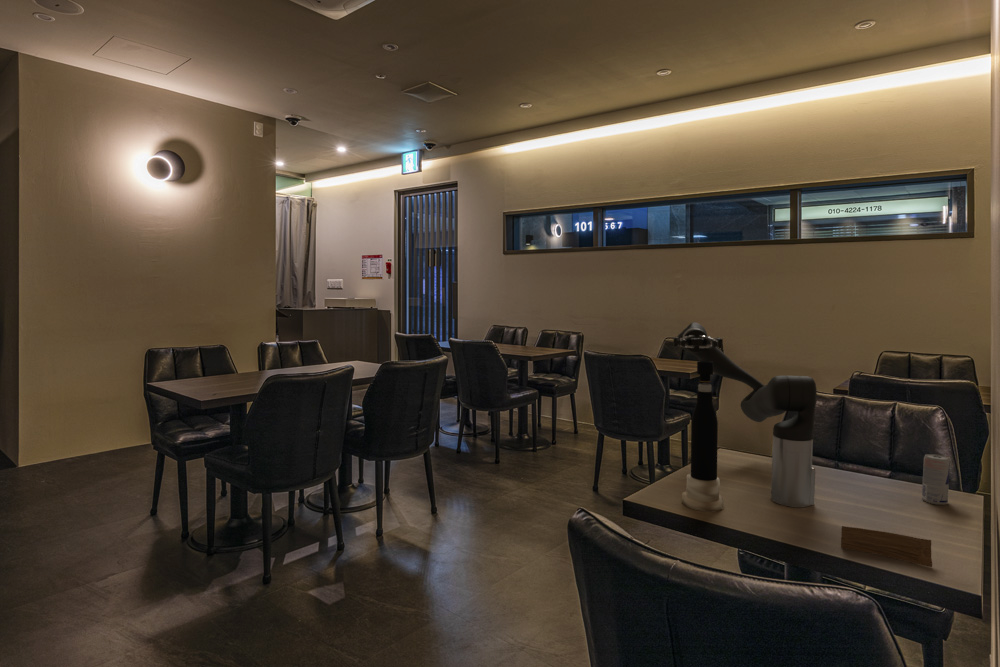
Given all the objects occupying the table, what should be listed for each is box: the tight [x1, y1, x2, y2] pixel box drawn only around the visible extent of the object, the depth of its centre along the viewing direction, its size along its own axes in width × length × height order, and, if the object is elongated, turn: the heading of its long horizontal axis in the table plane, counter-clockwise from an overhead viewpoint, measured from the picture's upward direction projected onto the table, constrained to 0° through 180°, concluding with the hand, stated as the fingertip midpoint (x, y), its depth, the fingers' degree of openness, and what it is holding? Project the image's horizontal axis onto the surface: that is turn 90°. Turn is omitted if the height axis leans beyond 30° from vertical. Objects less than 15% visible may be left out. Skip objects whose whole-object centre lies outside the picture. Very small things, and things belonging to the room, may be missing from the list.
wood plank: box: [840, 525, 933, 568], centre depth 114 cm, size 15×2×5 cm, turn 61°
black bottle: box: [690, 360, 719, 481], centre depth 142 cm, size 6×6×30 cm
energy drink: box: [921, 453, 951, 506], centre depth 145 cm, size 5×5×12 cm
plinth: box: [681, 473, 724, 512], centre depth 143 cm, size 10×10×7 cm
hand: (699, 343), depth 163 cm, fingers open, 8 cm apart
